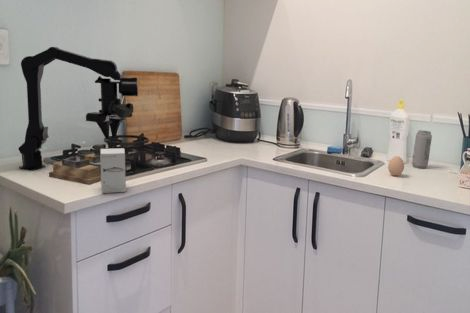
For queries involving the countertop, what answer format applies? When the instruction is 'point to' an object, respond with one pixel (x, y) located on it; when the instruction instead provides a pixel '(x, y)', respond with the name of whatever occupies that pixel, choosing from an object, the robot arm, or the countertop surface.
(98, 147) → the yellow and black block
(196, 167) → the countertop surface
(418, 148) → the energy drink can
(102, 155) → the supplement box
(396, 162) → the egg
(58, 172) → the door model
